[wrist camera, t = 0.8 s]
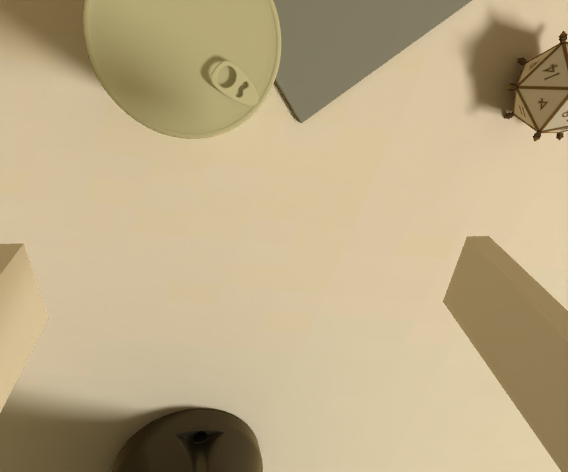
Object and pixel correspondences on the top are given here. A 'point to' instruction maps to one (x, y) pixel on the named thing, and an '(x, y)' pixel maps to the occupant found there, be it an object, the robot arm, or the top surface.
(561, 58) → the game die
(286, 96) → the mat
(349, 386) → the top surface
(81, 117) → the top surface
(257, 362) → the top surface
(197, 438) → the robot arm
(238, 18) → the can
